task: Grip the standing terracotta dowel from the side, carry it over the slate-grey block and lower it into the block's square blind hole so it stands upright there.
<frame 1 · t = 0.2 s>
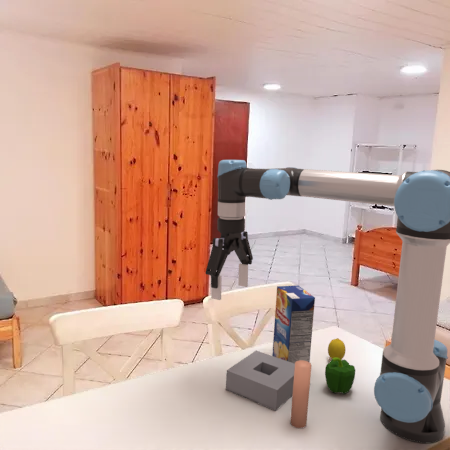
hand: (230, 292, 125), 27 cm above the table, tool pointing down, fingers open, 13 cm apart
bell pepper: (338, 390, 129), on the table
lemon: (335, 362, 146), on the table
pin: (298, 423, 113), on the table
hole block: (264, 387, 128), on the table
juice carton: (289, 364, 144), on the table
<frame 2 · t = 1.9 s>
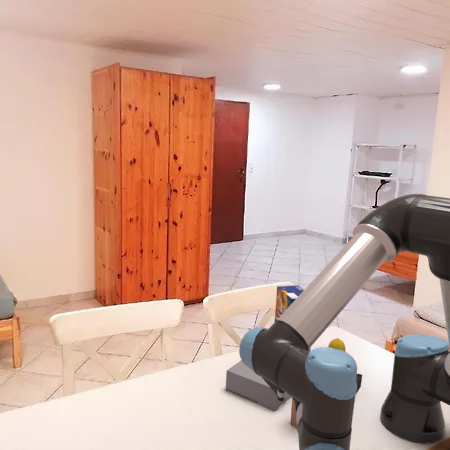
hand: (308, 358, 100), 22 cm above the table, tool horizontal, fingers open, 13 cm apart
nothing on the table moved.
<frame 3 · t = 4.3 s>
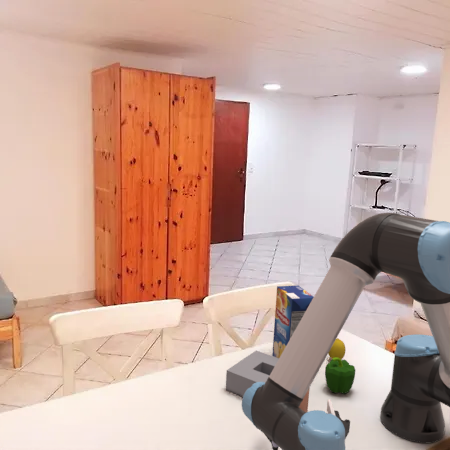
hand: (299, 402, 106), 9 cm above the table, tool horizontal, fingers open, 13 cm apart
nothing on the table moved.
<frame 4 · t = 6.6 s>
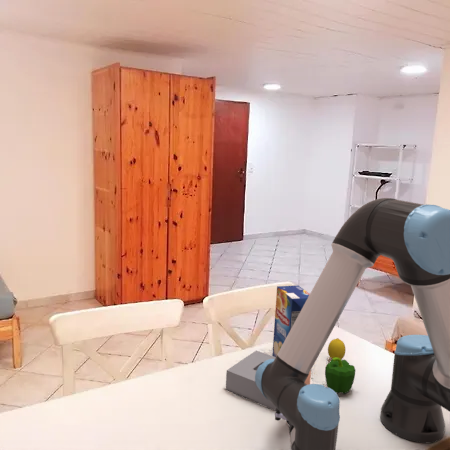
hand: (299, 379, 116), 9 cm above the table, tool horizontal, fingers closed on pin, 4 cm apart
pin: (298, 423, 113), on the table, touching gripper
everything else where it was.
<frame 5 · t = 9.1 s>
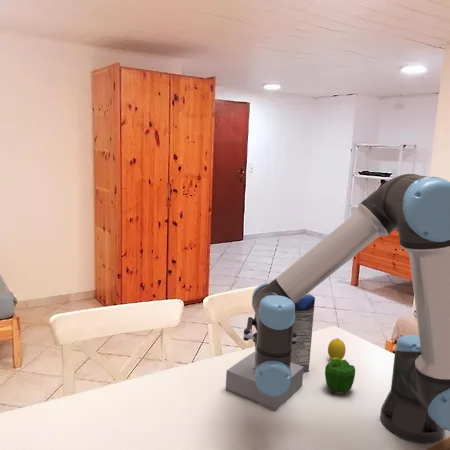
hand: (268, 312, 129), 21 cm above the table, tool horizontal, fingers closed on pin, 4 cm apart
pin: (266, 350, 125), point 12 cm above the table, touching gripper
everything else where it was.
when the fingers open (12 cm above the table, at t = 11.5 s): pin drops 2 cm, resting on hole block.
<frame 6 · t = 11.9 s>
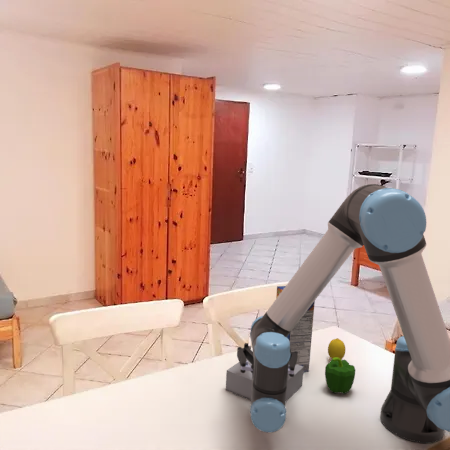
hand: (267, 341, 131), 12 cm above the table, tool horizontal, fingers open, 9 cm apart
pin: (264, 386, 128), point 1 cm above the table, touching hole block
everything else where it was.
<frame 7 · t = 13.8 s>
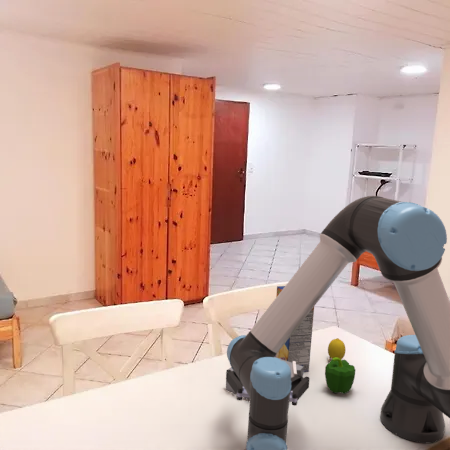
hand: (267, 363, 117), 12 cm above the table, tool horizontal, fingers open, 13 cm apart
nothing on the table moved.
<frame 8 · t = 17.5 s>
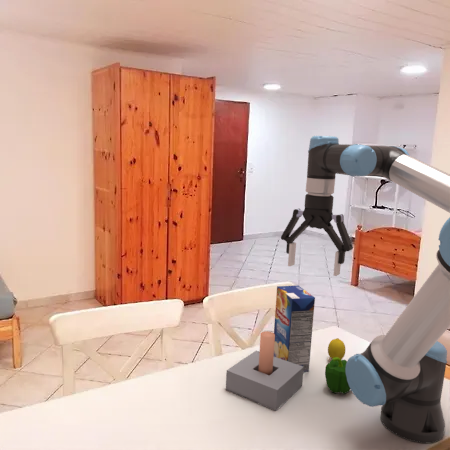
hand: (313, 270, 125), 35 cm above the table, tool pointing down, fingers open, 13 cm apart
at the end: pin 0.1 cm off-centre on the hole block, point 0.5 cm above the hole block's base; pin tilted 1°; the gripper is holding nothing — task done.
